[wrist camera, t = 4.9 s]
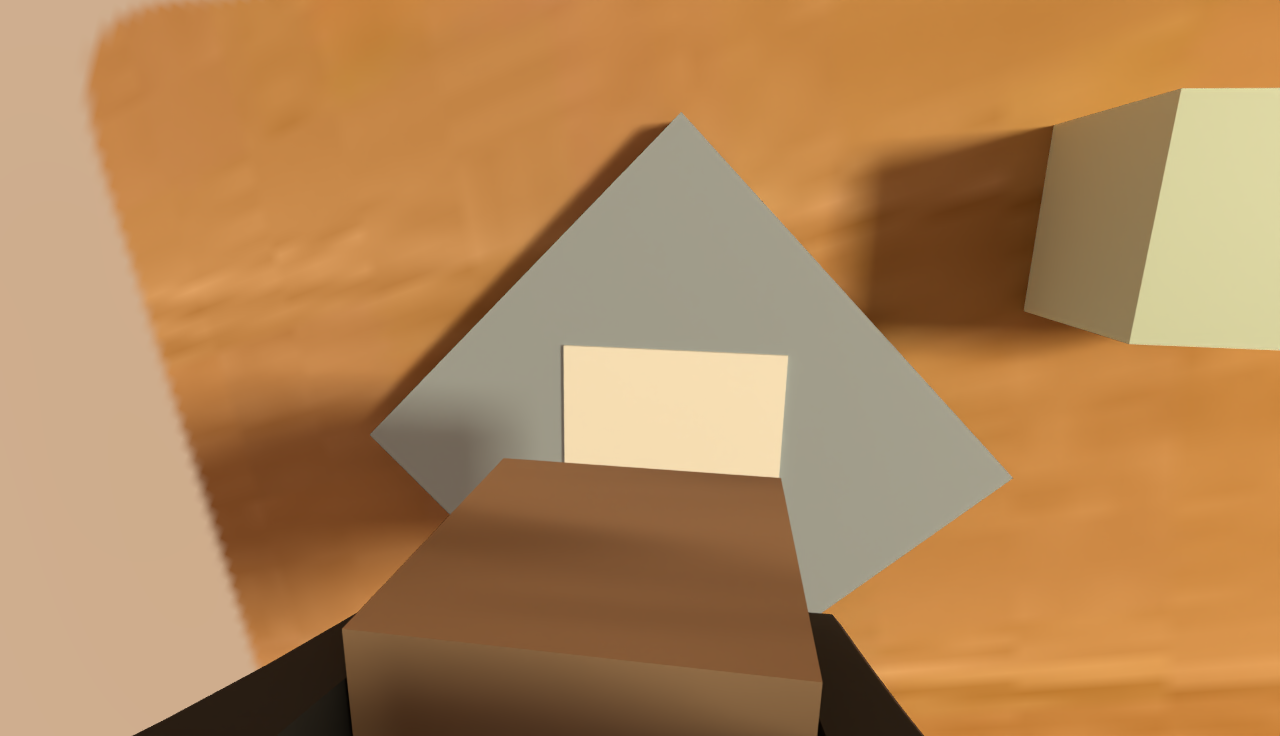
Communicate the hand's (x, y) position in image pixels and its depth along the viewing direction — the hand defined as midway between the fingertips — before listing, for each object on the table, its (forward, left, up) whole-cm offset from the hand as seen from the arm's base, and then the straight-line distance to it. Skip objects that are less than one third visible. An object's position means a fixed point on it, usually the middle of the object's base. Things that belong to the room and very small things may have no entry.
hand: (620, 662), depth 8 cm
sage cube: (+11, -3, -8) cm, 14 cm away
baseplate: (0, 0, -8) cm, 8 cm away
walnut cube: (0, 0, -2) cm, 2 cm away
